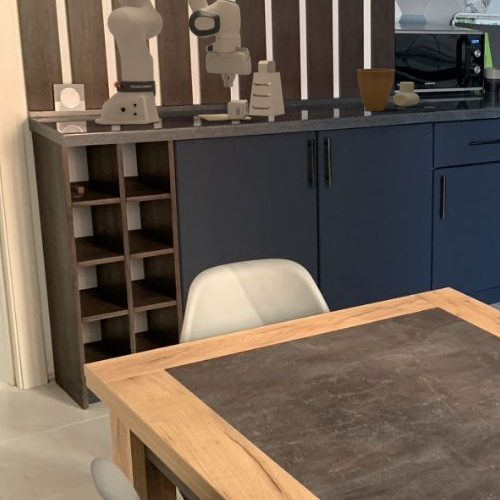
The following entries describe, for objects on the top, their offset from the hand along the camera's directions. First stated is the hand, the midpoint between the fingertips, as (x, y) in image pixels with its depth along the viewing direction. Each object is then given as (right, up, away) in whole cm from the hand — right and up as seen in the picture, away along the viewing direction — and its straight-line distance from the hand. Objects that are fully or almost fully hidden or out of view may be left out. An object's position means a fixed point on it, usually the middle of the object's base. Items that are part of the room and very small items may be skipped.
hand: (228, 86), depth 297 cm
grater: (+14, -6, +22) cm, 27 cm away
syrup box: (+2, -9, -1) cm, 9 cm away
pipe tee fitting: (+73, +2, +53) cm, 90 cm away
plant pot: (+58, -2, +36) cm, 68 cm away
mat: (-2, -10, +9) cm, 13 cm away
